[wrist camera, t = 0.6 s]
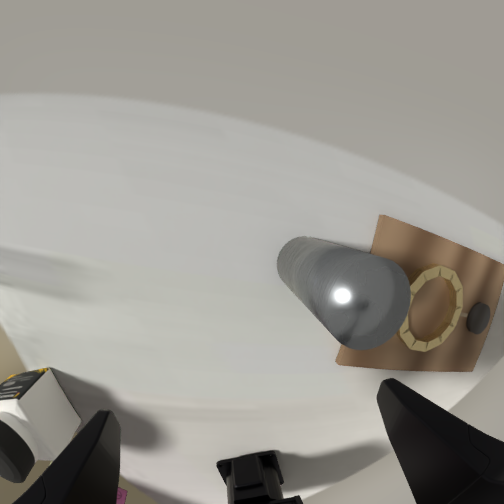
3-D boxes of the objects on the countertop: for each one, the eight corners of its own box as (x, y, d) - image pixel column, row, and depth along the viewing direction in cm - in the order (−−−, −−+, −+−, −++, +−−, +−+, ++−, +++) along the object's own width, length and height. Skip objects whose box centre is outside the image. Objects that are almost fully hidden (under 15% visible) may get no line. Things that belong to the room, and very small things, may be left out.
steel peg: (333, 282, 25) (412, 332, 13) (282, 296, 25) (333, 362, 13) (323, 231, 25) (406, 246, 13) (271, 243, 24) (319, 270, 12)
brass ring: (454, 329, 27) (461, 333, 26) (394, 358, 26) (400, 363, 25) (454, 255, 26) (461, 257, 24) (389, 277, 25) (396, 280, 24)
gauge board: (503, 265, 28) (512, 267, 26) (468, 369, 29) (477, 374, 27) (379, 214, 25) (389, 215, 23) (335, 361, 26) (342, 369, 25)
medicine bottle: (50, 365, 24) (-12, 430, 12) (83, 421, 25) (42, 496, 13) (10, 374, 23) (-47, 427, 11) (41, 424, 24) (-2, 486, 12)
